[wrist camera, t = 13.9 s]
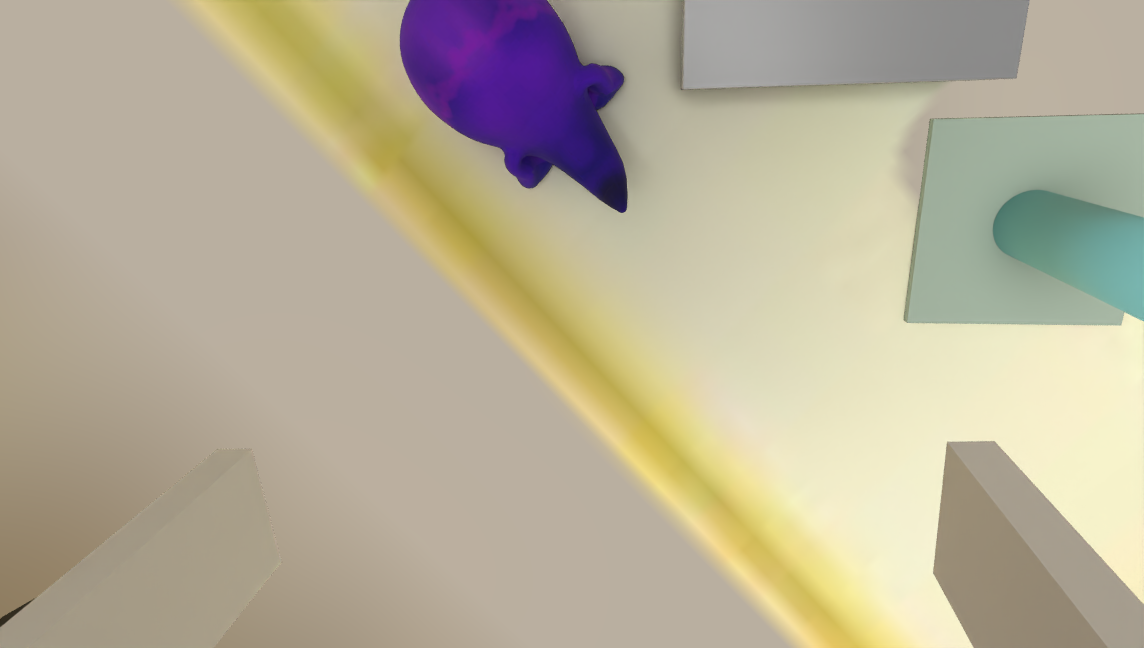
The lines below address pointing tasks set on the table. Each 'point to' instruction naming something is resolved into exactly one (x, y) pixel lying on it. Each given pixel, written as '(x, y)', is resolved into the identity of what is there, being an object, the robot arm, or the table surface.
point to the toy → (516, 88)
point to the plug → (1077, 245)
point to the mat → (985, 183)
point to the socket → (848, 41)
